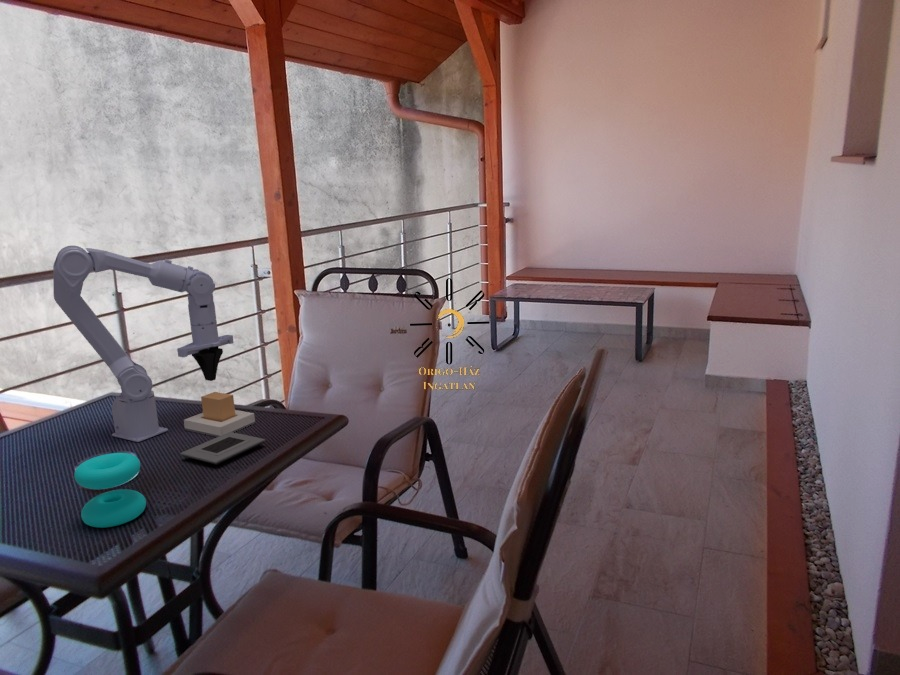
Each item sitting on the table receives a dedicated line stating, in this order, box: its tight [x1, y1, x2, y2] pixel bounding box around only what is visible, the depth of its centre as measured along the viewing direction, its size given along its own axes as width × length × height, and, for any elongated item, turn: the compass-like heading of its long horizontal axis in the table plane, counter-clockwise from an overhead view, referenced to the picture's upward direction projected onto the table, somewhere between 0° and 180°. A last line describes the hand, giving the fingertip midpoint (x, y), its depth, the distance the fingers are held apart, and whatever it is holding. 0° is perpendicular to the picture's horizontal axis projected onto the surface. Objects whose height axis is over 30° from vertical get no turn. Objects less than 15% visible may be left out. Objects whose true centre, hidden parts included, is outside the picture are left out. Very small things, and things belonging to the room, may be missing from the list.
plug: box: [200, 391, 236, 422], centre depth 158 cm, size 6×4×7 cm, turn 60°
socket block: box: [183, 409, 256, 438], centre depth 159 cm, size 12×10×2 cm
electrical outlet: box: [179, 432, 266, 466], centre depth 143 cm, size 13×10×2 cm
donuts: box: [73, 452, 147, 529], centre depth 116 cm, size 10×10×10 cm
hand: (210, 379), depth 162 cm, fingers closed
